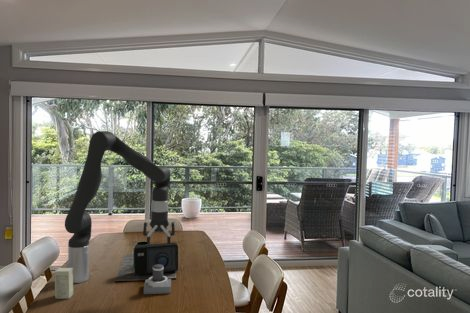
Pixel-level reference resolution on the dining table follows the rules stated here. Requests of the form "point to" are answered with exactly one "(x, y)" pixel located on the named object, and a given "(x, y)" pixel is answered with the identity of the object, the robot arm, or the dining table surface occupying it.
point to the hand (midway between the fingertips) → (158, 244)
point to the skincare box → (63, 283)
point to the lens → (158, 273)
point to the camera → (155, 257)
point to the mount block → (157, 286)
